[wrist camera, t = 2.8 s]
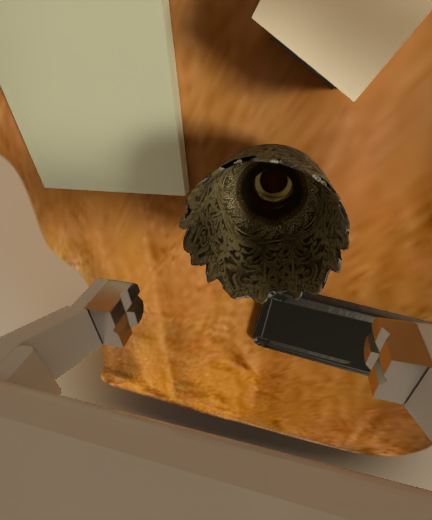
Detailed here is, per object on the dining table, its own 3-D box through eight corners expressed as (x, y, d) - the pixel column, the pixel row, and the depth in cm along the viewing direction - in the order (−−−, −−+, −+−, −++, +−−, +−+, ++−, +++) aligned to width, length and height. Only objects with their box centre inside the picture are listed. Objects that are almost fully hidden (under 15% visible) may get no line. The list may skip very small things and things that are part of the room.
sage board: (-29, -18, 16) (-46, -22, 15) (163, -48, 13) (154, -54, 13) (53, 183, 23) (44, 187, 22) (189, 190, 20) (185, 195, 20)
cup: (234, 235, 22) (206, 308, 16) (205, 137, 18) (153, 183, 12) (338, 220, 19) (354, 303, 13) (329, 102, 15) (346, 138, 9)
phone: (268, 288, 23) (462, 336, 21) (269, 279, 24) (456, 325, 22) (250, 344, 28) (407, 388, 26) (252, 335, 29) (404, 377, 27)
